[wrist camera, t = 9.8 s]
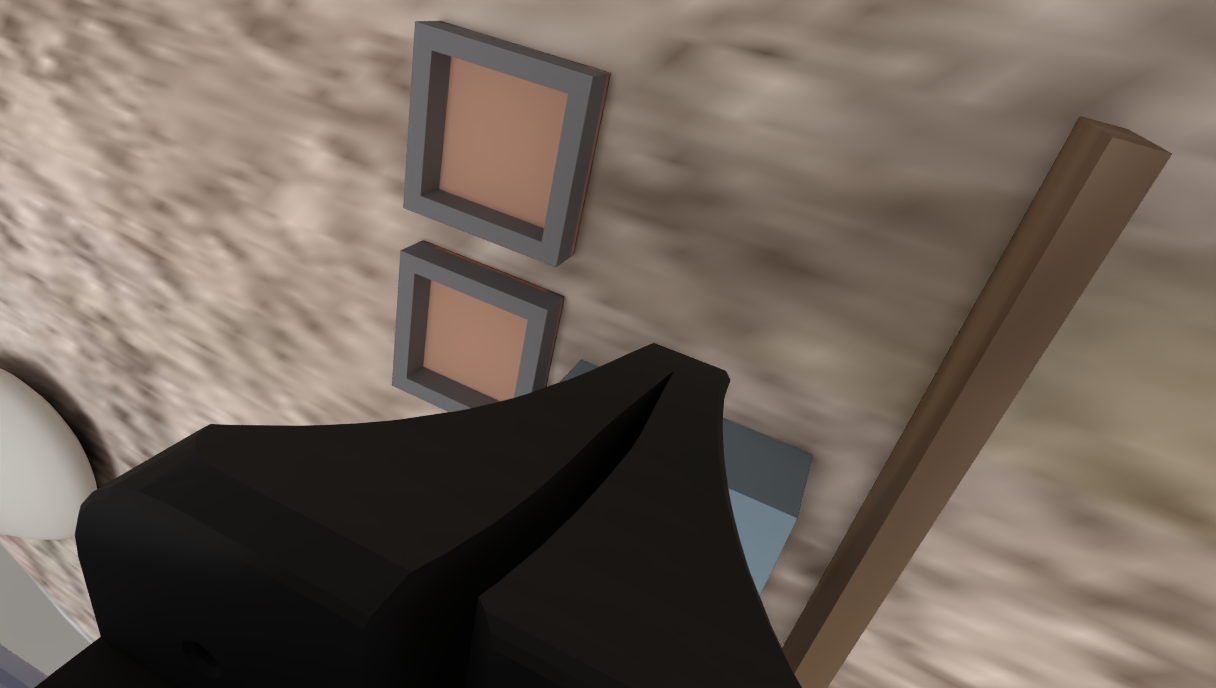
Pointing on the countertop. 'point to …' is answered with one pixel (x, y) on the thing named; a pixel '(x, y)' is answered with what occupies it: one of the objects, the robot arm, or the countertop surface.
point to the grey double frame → (489, 210)
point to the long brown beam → (978, 381)
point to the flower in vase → (38, 466)
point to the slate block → (757, 489)
